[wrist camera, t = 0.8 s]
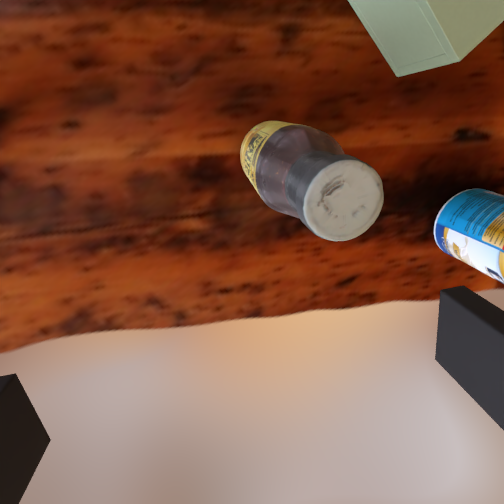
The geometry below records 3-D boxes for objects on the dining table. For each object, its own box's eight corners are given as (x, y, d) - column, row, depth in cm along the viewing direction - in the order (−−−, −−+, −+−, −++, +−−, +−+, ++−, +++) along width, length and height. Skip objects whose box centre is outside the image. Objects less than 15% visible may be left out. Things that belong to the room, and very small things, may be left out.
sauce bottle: (233, 126, 32) (265, 130, 14) (295, 115, 33) (408, 103, 14) (244, 192, 35) (285, 270, 16) (302, 181, 35) (407, 244, 17)
